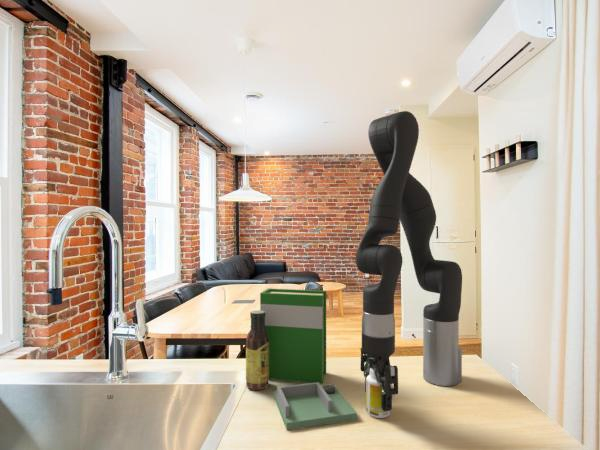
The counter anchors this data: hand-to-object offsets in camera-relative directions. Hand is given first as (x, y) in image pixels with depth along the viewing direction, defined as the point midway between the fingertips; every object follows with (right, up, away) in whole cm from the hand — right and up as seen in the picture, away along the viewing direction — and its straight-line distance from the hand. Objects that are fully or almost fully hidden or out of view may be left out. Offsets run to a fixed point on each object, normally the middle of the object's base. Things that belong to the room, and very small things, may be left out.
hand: (377, 401), depth 85 cm
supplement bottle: (0, -3, 0) cm, 3 cm away
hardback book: (-20, -3, +21) cm, 29 cm away
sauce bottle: (-29, -3, +14) cm, 33 cm away
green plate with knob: (-15, -3, +2) cm, 15 cm away
